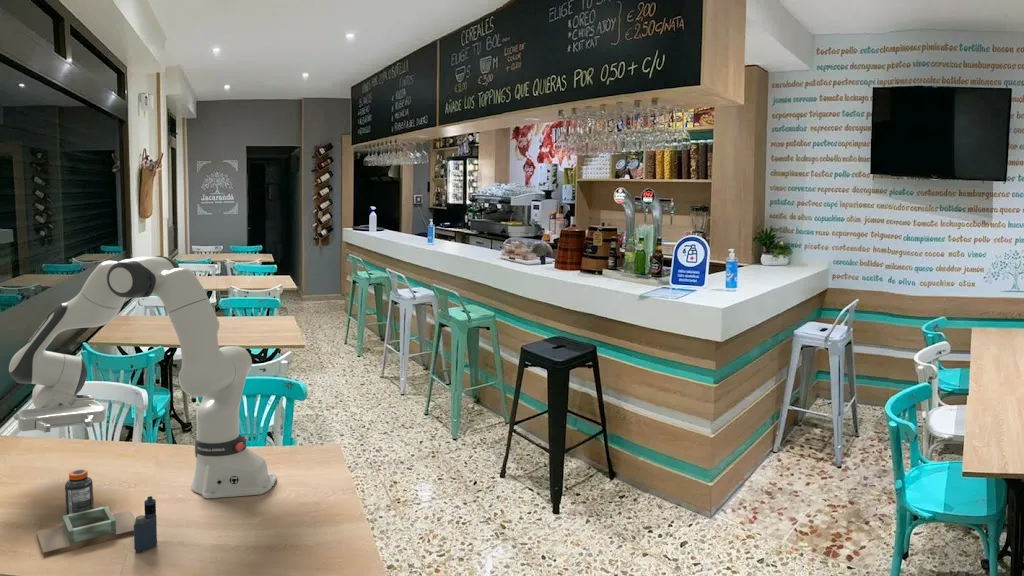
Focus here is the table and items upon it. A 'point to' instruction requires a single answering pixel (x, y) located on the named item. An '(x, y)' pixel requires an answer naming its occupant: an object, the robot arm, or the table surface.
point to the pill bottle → (78, 492)
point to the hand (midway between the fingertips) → (68, 427)
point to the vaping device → (146, 527)
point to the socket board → (86, 530)
